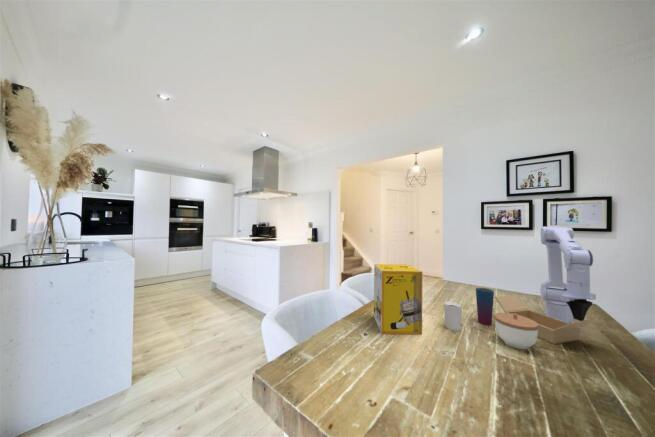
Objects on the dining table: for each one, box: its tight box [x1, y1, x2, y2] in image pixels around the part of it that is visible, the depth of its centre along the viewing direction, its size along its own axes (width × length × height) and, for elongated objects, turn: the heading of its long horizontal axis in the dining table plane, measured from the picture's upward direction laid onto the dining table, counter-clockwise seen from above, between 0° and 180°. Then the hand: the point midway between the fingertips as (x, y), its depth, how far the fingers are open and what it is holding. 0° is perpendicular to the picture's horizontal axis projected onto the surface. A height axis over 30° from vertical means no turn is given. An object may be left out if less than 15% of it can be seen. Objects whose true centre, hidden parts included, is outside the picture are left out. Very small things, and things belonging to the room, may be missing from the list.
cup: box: [475, 286, 495, 326], centre depth 101 cm, size 7×7×15 cm
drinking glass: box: [443, 300, 463, 332], centre depth 96 cm, size 7×7×10 cm
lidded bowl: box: [493, 312, 539, 350], centre depth 83 cm, size 13×13×11 cm
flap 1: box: [494, 294, 528, 313], centre depth 105 cm, size 13×7×1 cm
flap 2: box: [554, 318, 599, 331], centre depth 82 cm, size 13×7×1 cm
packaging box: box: [373, 263, 423, 335], centre depth 98 cm, size 16×16×25 cm
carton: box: [504, 309, 581, 345], centre depth 94 cm, size 14×18×5 cm
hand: (578, 319), depth 82 cm, fingers closed
